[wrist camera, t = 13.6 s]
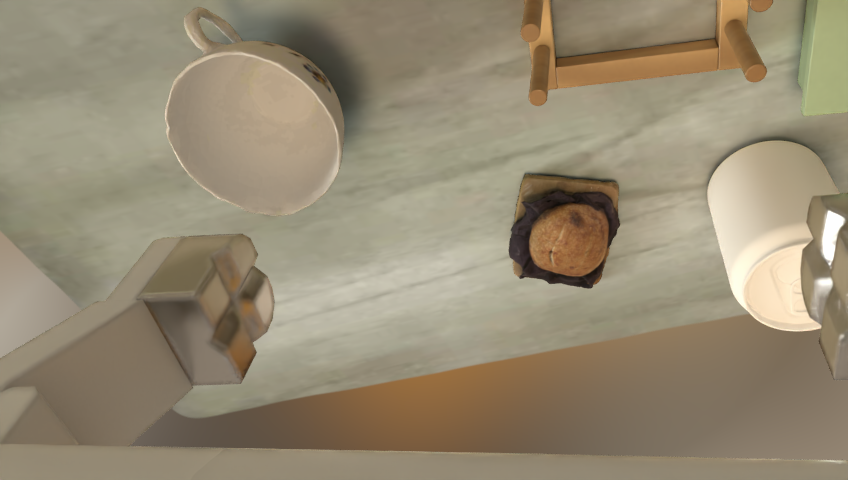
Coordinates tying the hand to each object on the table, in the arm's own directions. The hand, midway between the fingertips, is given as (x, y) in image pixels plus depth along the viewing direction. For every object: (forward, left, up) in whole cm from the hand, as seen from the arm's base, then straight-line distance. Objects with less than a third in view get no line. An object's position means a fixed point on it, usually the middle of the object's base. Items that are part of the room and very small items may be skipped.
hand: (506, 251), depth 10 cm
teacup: (+12, -22, -39) cm, 47 cm away
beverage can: (+25, +13, -39) cm, 48 cm away
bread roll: (+28, -2, -39) cm, 48 cm away
